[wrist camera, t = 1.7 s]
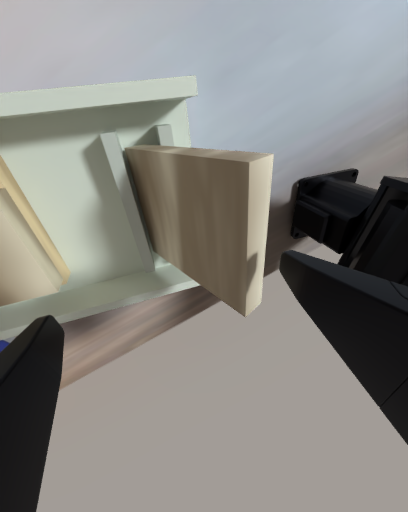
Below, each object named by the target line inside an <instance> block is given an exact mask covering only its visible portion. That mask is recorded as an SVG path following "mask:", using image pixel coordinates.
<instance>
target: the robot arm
mask: <svg viewBox="0 0 408 512" xmlns="http://www.w3.org/2000/svg"><path fill="white" fill-rule="evenodd" d="M357 176H358V170H357V169H353V168H352V169H347V170H342V171H337V172H332V173H327V174H322V175H317V176H312V177H307V178H303V179H302V180H301V181H300V182H299V186H298V192H297V198H296V204H295V211H294V217H293V223H292V229H291V237H293V238H294V239H297V238H301V237H305V236H309V237H311V238H312V239H314V240H315V241H317V242H318V243H320V244H321V243H323V244H324V245H326V246H327V247H329V248H330V249H332V250H333V251H335V252H336V253H338V254H341V253H343V255H342V256H341V258H340V260H339V262H338V264H334V263H331V262H328V261H325V260H322V259H319V258H315V257H312V256H309V255H306V254H303V253H300V252H297V251H293V250H289V251H285V252H282V254H281V258H280V265H279V270H280V272H281V274H282V276H283V277H284V279H285V281H286V282H287V284H288V286H289V287H290V289H291V291H292V292H293V294H294V296H295V297H296V299H297V300H298V302H299V303H300V304H301V306H302V307H303V309H304V310H305V311H306V312H307V314H308V315H309V316H310V318H311V319H312V320H313V322H314V323H315V324H316V325H317V327H318V328H319V329H320V331H321V332H322V333H323V335H324V336H325V337H326V339H327V340H328V341H329V342H330V344H331V345H332V346H333V348H334V349H335V350H336V352H337V353H338V354H339V355H340V357H341V358H342V359H343V361H344V362H345V363H346V365H347V366H348V367H349V369H350V370H351V371H352V373H353V374H354V375H355V376H356V378H357V379H358V380H359V382H360V383H361V384H362V386H363V387H364V388H365V389H366V391H367V392H368V393H369V395H370V396H371V397H372V399H373V400H374V401H375V402H376V404H377V405H378V406H379V407H380V409H381V411H382V412H383V413H384V414H385V416H386V417H387V419H388V420H389V421H390V422H391V424H392V425H393V426H394V428H395V429H396V430H397V432H398V433H399V434H400V435H401V437H402V438H403V439H404V441H405V442H406V443H407V445H408V178H401V177H390V176H384V177H383V179H382V180H381V182H380V184H381V185H380V187H379V189H378V190H376V189H373V188H369V187H366V186H363V185H359V184H356V183H355V182H356V179H357ZM305 182H306V183H305ZM304 183H305V185H304ZM295 234H296V235H295ZM63 348H64V330H63V328H62V327H61V325H60V324H59V323H58V322H57V320H56V319H55V318H54V317H53V316H52V315H45V316H42V317H38V318H36V319H35V320H34V321H33V322H32V323H31V324H30V325H29V326H28V327H27V328H25V329H24V330H23V331H22V332H21V333H20V334H19V335H18V336H17V337H16V338H15V339H14V340H13V341H12V342H11V343H10V344H9V345H7V346H6V347H5V348H4V349H3V350H2V351H1V352H0V512H36V509H37V504H38V499H39V493H40V488H41V483H42V477H43V472H44V466H45V462H46V456H47V451H48V446H49V440H50V435H51V430H52V424H53V419H54V414H55V408H56V402H57V398H58V392H59V387H60V381H61V374H62V362H63Z"/></svg>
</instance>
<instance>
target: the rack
mask: <svg viewBox="0 0 408 512" xmlns="http://www.w3.org/2000/svg"><path fill="white" fill-rule="evenodd" d="M197 95H198V93H197V82H196V75H195V76H184V77H173V78H162V79H151V80H140V81H128V82H117V83H106V84H95V85H84V86H73V87H62V88H51V89H40V90H29V91H18V92H7V93H0V155H1V157H2V158H3V160H4V162H5V163H6V165H7V167H8V168H9V170H10V172H11V173H12V175H13V177H14V178H15V180H16V182H17V183H18V185H19V187H20V188H21V190H22V192H23V193H24V195H25V197H26V198H27V200H28V202H29V203H30V205H31V207H32V208H33V210H34V212H35V213H36V215H37V217H38V218H39V220H40V222H41V223H42V225H43V227H44V228H45V230H46V232H47V233H48V235H49V237H50V238H51V240H52V242H53V243H54V245H55V247H56V248H57V250H58V252H59V254H60V255H61V257H62V259H63V260H64V262H65V264H66V265H67V267H68V269H69V270H70V272H71V273H70V276H69V279H68V281H67V284H64V285H61V286H60V289H59V291H58V292H57V293H53V294H49V295H45V296H41V297H37V298H33V299H29V300H25V301H21V302H17V303H13V304H9V305H5V306H1V307H0V340H4V339H7V338H11V337H15V336H18V335H19V334H20V333H21V332H22V331H23V330H24V329H25V328H27V327H28V326H29V325H30V324H31V323H32V322H33V321H34V320H35V319H36V318H38V317H42V316H45V315H52V316H53V317H54V318H55V319H56V320H57V322H58V323H59V324H62V323H65V322H69V321H73V320H76V319H80V318H83V317H87V316H91V315H94V314H98V313H102V312H105V311H109V310H113V309H116V308H120V307H123V306H127V305H131V304H134V303H138V302H142V301H145V300H149V299H152V298H156V297H160V296H163V295H167V294H171V293H174V292H178V291H182V290H185V289H189V288H192V287H196V286H200V284H198V283H197V282H196V281H194V280H193V279H191V278H190V277H189V276H187V275H186V274H184V273H183V272H182V271H180V270H179V269H177V268H176V267H175V266H173V265H172V264H170V263H169V262H168V261H166V260H165V259H164V258H162V257H161V256H159V255H158V254H157V253H155V252H154V251H153V248H152V244H151V241H150V237H149V234H148V230H147V227H146V223H145V220H144V216H143V213H142V209H141V206H140V202H139V198H138V195H137V191H136V188H135V184H134V181H133V177H132V174H131V170H130V167H129V163H128V160H127V156H126V153H125V149H124V148H127V147H132V146H137V145H142V144H149V145H162V146H175V147H189V148H191V140H190V132H189V123H188V115H187V106H186V99H187V98H190V97H193V96H197Z"/></svg>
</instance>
